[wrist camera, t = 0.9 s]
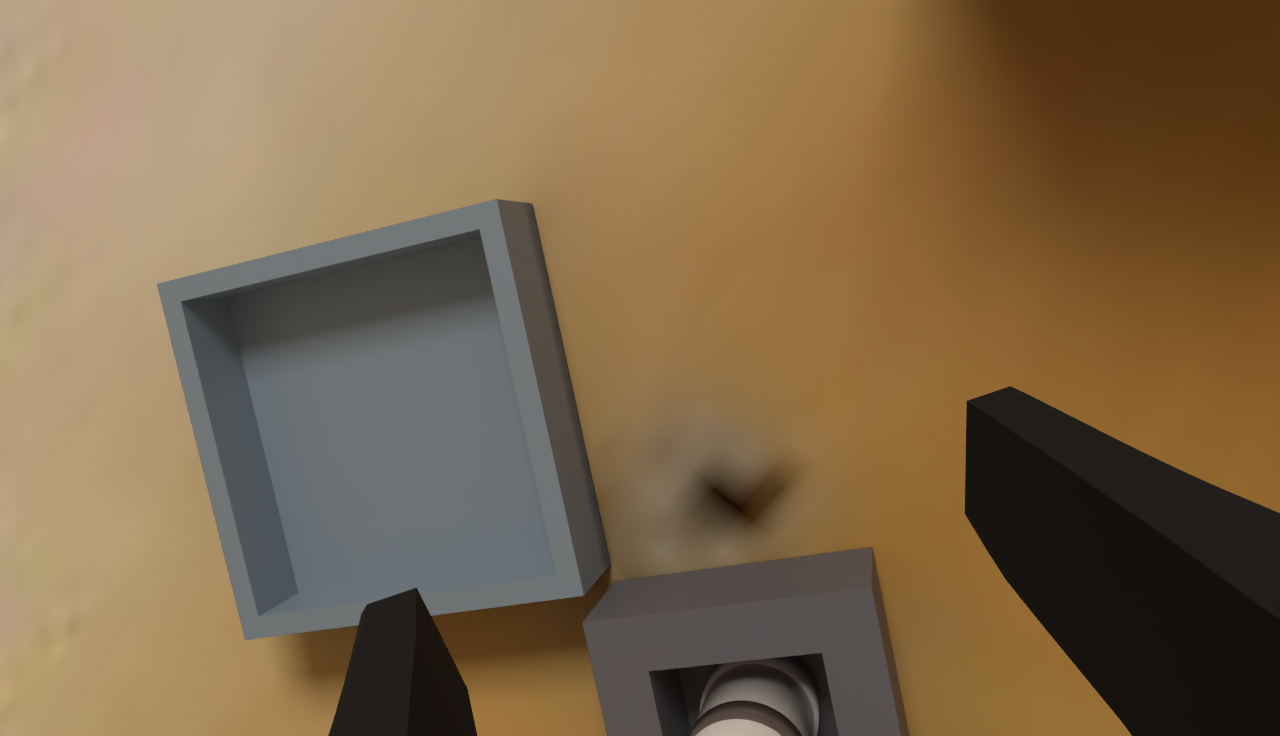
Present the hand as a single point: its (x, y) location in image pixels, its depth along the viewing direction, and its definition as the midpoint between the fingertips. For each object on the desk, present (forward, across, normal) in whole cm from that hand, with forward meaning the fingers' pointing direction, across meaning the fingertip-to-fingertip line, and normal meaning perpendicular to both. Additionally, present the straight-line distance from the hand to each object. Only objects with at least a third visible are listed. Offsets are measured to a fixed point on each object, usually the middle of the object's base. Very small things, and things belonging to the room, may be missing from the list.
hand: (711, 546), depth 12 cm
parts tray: (+15, +5, +7) cm, 17 cm away
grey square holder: (+7, -2, +14) cm, 15 cm away
